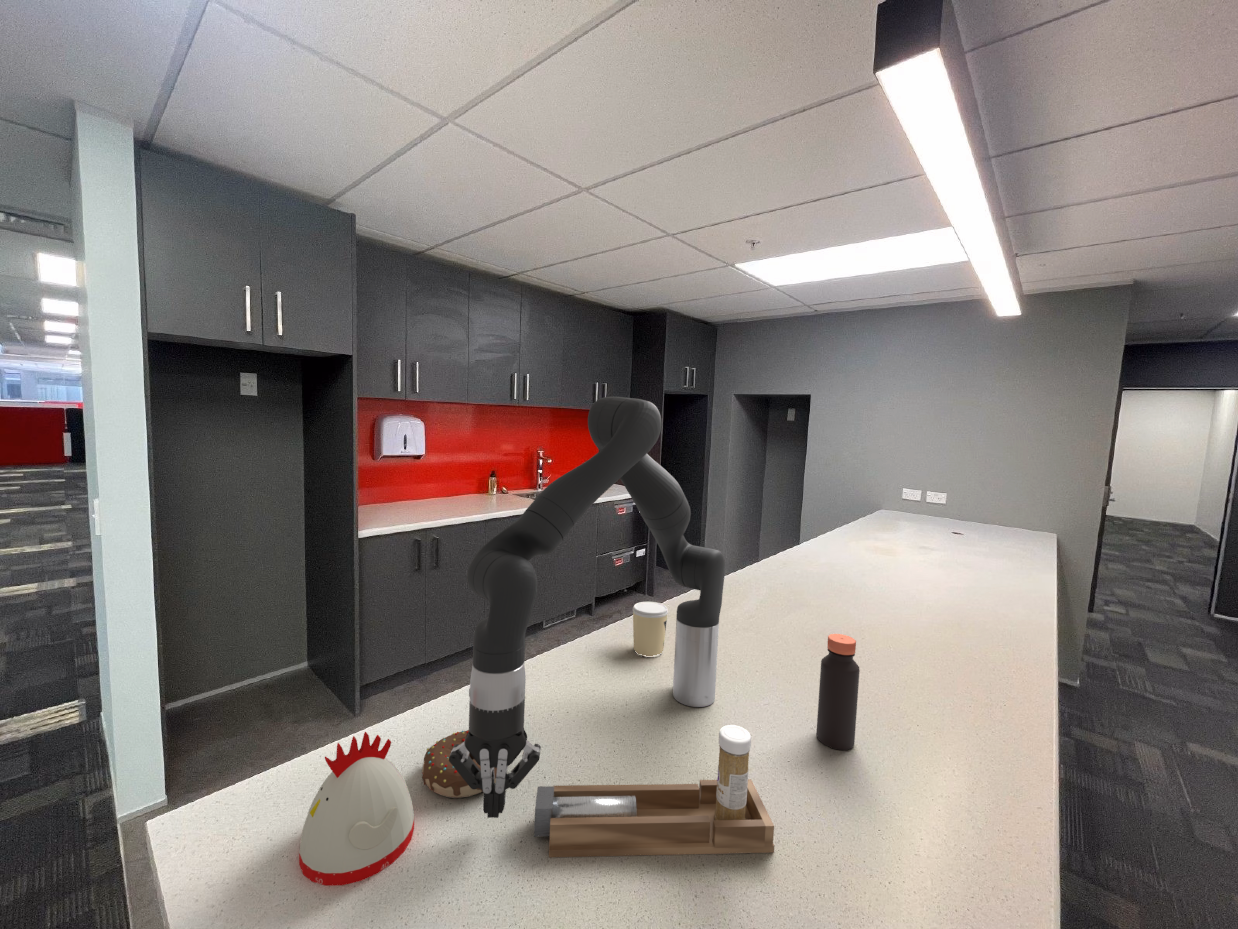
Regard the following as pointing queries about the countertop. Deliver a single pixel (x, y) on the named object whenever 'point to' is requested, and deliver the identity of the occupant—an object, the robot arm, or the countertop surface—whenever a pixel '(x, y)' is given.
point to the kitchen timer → (356, 817)
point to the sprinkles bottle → (732, 773)
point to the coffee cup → (649, 627)
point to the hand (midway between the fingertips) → (493, 813)
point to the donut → (447, 769)
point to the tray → (662, 823)
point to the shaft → (578, 808)
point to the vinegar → (838, 694)
